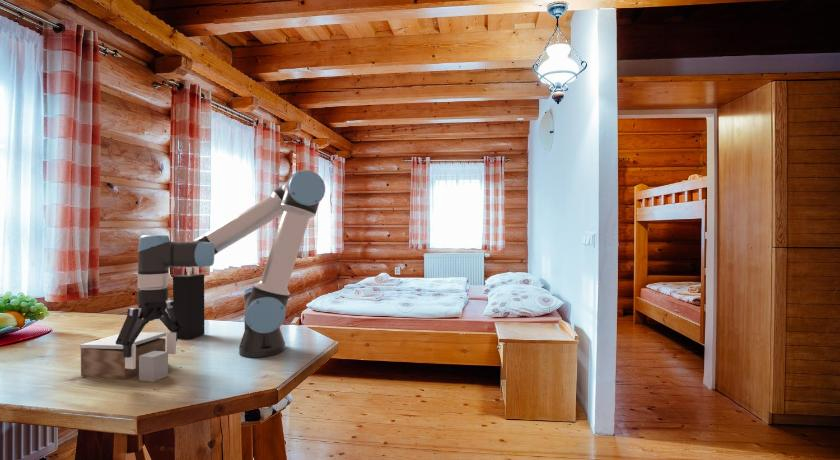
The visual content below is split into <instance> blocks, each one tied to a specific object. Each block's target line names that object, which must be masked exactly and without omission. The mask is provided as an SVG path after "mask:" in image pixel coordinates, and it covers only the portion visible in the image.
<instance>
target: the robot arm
mask: <svg viewBox="0 0 840 460" xmlns="http://www.w3.org/2000/svg"><path fill="white" fill-rule="evenodd" d="M325 194H326V184H325V182H324V179H323V178H322V177H321V176H320V175H319V174H318V173H317V172H315V171H312V170H309V169H307V170H306V169H303V170H298V171H296V172H293V174H291V176H290V177H289V178H288V179H287V181H285V183H284V184H282V185H281V186H279V187H278V188H277V189H275V190H273V191H272V194H271V195H270V196H269V197H266V198H265V199H263V200H261V201H259V202H258V203H256V204H254V205H253V206H250V207H249V208H247V209H246V210H244V211H242V212H240V213H238V214H236V215H235V216H233V217H232V218H230V219H228V220H227V221H225V222H223V223H222V224H219V225H218V226H216V227H213V229H211V230H209V231H207V232H206V233H204V234H203V235H201V236H199V237H197V238H195V239H194V240H192V241H177V242H176V241H171V240H170V236H169V235H166V234H165V235H161V234H145V235H141V236H140V237H139V240H138V247H137V248H138V249H137V288H139V289H137V296H136V298H137V299H136V300H137V303H138V308H135V307H134V308H133V307H128V309H127V314H126V318H125V320H124V323H123V324H122V327H121V329H120V331H119V333H118V334H119V336H118V338H117V340H116V344H117V345H123V356H124V357H125V368H127V369H135V368H136V345H134V344H133V343H134V342H135V340H136V339H137V337H138V335H139V334H140V332H143V329H144V328H145V326H146V325H147V324H149V322H151V321H152V322H153V321H154V320H160V321H161V323H162V324H163V325H164V326H165V327H166V329H167V330H168V331H167V332H166V352H168V355H169V354H170V355H175V354H176V355H177V342H178V339H177V335H178V332H180V331H181V328H183V326H184V325H183V323H182V321H181V318H180V316H179V314H178V311H177V309H176V303H175V301H173V300H169V288H168V286H169V281H170V280H169V279H170V277H169V276H170V275H169V268H179V267H180V268H182V267H183V268H186V267H190V268H194V267H195V268H196V267H197V268H198V267H199V268H203V267H212V266H213V265H214V263H215V255H217V254H218V253H220V252H221V251H223V250H225V249H226V248H228V247H230V246H232V245H233V244H235V243H237V242H238V241H240V240H242V239H243V238H245V237H246V236H249V235H250V234H252V233H254V232H256V231H257V230H258V229H260V228H262V227H264V226H265V225H266V224H268V223H271V222H272V221H274V220H276V219H277V218H279V217H280V216H281V218H280V221H279V224H278V226H277V230H276V233H275V236H274V239H273V242H272V245H271V247H270V248H271V249H270V251H269V254H268V257H267V260H266V264H265V266H264V270H263V273H262V275H261V278H260V281H259V282H256V283H255V284H253V286H251V287H250V286H249V287H246V288H245V289H244V294H243V297H244V299H243V300H244V305H243V306H244V308H243V309H244V331H243V335H242V338H241V341H240V344H239V348H238V353H239V355H240V356H241V357H245V358H262V357H270V356H274V355H277V354H280V353H282V352H283V351H284V350H285V349H286V343H285V340H284V336H283V334H282V333H283V332H282V330H281V326H282V325H283V323H284V322H285V319H286V313H287V312H286V308H287V305H288V302H289V298H290V296H291V293H290V291H289V288H288V286H289V284H290V280H291V277H292V274H293V271H294V268H295V265H296V261H297V258H298V255H299V252H300V249H301V245H302V243H303V239H304V237H305V233H306V230H307V227H308V225H309V221H310V219H312V218H314V217H315V216H316V214H317V212H318V208H319V205H320V203H321V201H322V200H323V198H324V197H325ZM129 340H130V341H129Z"/></svg>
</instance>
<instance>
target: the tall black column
mask: <svg viewBox="0 0 840 460" xmlns="http://www.w3.org/2000/svg"><path fill="white" fill-rule="evenodd" d="M185 269H186V270H185V271H186V273H185V274H179V275H178V274H177V275H173V276H172V301H175V303H176V309H177V311H178V314H179V316H180V318H181V321H182V323H183V325H184V326H183V328H181V331H180V332H178V335H177V340H179V339H181V340H193V339H195V338H198V337H201V336H203V335H205V274H203V273H192V270H193V267H185Z"/></svg>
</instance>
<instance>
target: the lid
mask: <svg viewBox="0 0 840 460" xmlns="http://www.w3.org/2000/svg"><path fill="white" fill-rule="evenodd" d="M118 336H119V333H117V334H114V335H110V336H105V337H103V338H100V339H97V340H96V339H95V340H92V341H88V342H85V343H81V344H79V349H81V348H100V349H123V345H117V344H116V340H117V338H118ZM163 337H167V332H156V331H155V332H154V331H153V332H145V331H141V332H140V334H139V335H138V337H137V339H136V340H135V342H134V343H133V344H134V345H138V344H141V343H145V342H148V341H151V340H154V339H157V338H163ZM129 341H130V340H129Z"/></svg>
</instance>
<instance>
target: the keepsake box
mask: <svg viewBox="0 0 840 460" xmlns="http://www.w3.org/2000/svg"><path fill="white" fill-rule="evenodd" d="M152 351H164V352H167V342H166V338H165V337H164V338H163V337H160V338H157V339H154V340H151V341H148V342H145V343H141V344H138V345H136V368H135V369H127V368H125V357H124V356H123V349H100V348H80V376H88V377H96V378H97V377H99V378H108V379H116V380H117V379H118V380H127V379H129V378H132V377H134V376H137V375H139V356H140V355H143V354H146V353H149V352H152Z"/></svg>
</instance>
